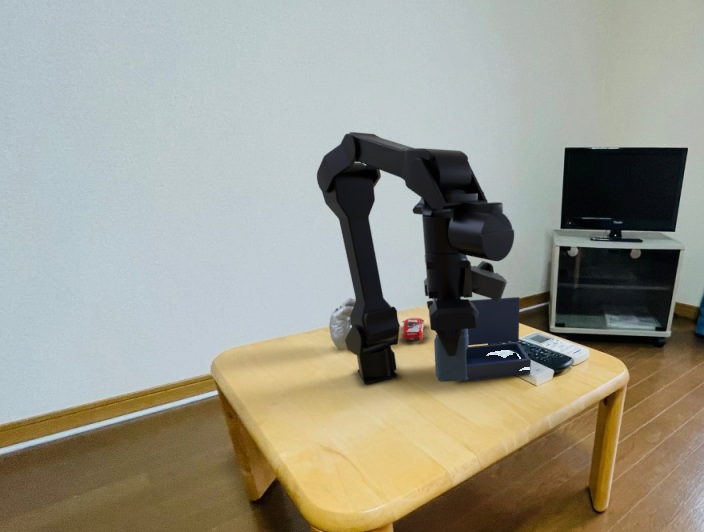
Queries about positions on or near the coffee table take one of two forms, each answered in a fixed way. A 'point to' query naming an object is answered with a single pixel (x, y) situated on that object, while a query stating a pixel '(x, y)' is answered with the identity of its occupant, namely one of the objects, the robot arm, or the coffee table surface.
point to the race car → (413, 329)
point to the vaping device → (451, 360)
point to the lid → (496, 321)
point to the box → (495, 361)
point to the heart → (341, 323)
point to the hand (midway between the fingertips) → (450, 351)
